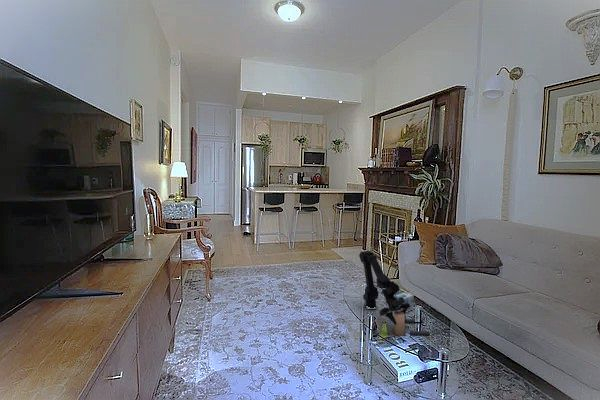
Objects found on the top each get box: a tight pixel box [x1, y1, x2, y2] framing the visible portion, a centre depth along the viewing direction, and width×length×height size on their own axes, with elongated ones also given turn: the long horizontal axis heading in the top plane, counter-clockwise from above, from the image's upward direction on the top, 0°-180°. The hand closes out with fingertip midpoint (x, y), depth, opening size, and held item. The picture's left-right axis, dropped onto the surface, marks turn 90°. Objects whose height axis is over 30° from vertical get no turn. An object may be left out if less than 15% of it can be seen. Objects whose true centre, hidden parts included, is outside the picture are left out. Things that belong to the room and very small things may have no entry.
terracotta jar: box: [393, 311, 406, 337], centre depth 193 cm, size 6×6×12 cm
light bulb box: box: [394, 291, 415, 312], centre depth 219 cm, size 11×7×11 cm, turn 117°
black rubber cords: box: [405, 318, 430, 336], centre depth 198 cm, size 11×15×2 cm
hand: (400, 323), depth 192 cm, fingers closed on terracotta jar, 6 cm apart
